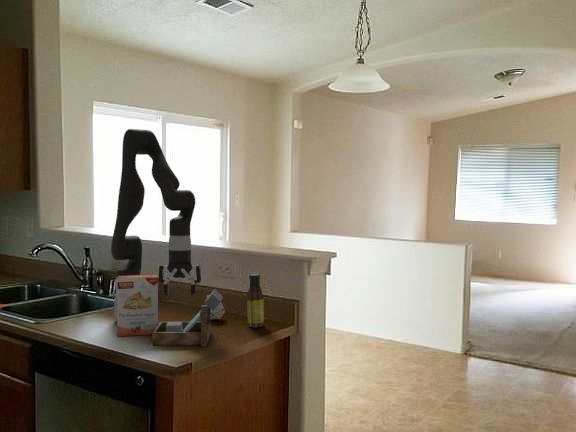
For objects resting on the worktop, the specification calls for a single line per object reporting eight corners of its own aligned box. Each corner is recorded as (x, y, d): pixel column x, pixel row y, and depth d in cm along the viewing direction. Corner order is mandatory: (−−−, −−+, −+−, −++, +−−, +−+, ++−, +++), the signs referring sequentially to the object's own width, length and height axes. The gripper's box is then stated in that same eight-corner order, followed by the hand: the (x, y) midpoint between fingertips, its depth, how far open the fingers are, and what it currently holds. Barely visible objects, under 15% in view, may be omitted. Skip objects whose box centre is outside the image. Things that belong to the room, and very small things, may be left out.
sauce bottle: (266, 325, 202) (267, 273, 201) (259, 329, 196) (259, 276, 195) (251, 323, 205) (252, 272, 203) (243, 326, 199) (244, 275, 198)
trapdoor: (184, 342, 176) (175, 334, 176) (189, 332, 188) (180, 325, 188) (220, 303, 176) (211, 295, 176) (223, 295, 188) (215, 288, 188)
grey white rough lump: (219, 328, 210) (233, 307, 212) (214, 326, 202) (229, 304, 204) (201, 315, 212) (216, 295, 214) (196, 313, 204) (211, 291, 206)
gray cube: (180, 339, 180) (165, 339, 179) (182, 335, 185) (168, 335, 184) (180, 325, 179) (165, 325, 179) (182, 321, 184) (168, 321, 184)
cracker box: (117, 337, 183) (116, 278, 182) (117, 332, 189) (117, 275, 188) (158, 334, 187) (158, 276, 186) (157, 330, 193) (157, 273, 192)
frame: (151, 347, 173) (151, 306, 172) (161, 332, 190) (161, 295, 190) (206, 347, 174) (206, 306, 173) (211, 332, 191) (211, 295, 191)
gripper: (156, 249, 176) (156, 297, 177) (199, 249, 177) (199, 297, 178) (161, 246, 183) (161, 292, 184) (202, 247, 184) (201, 292, 185)
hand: (179, 294), depth 181 cm, fingers open, 8 cm apart
